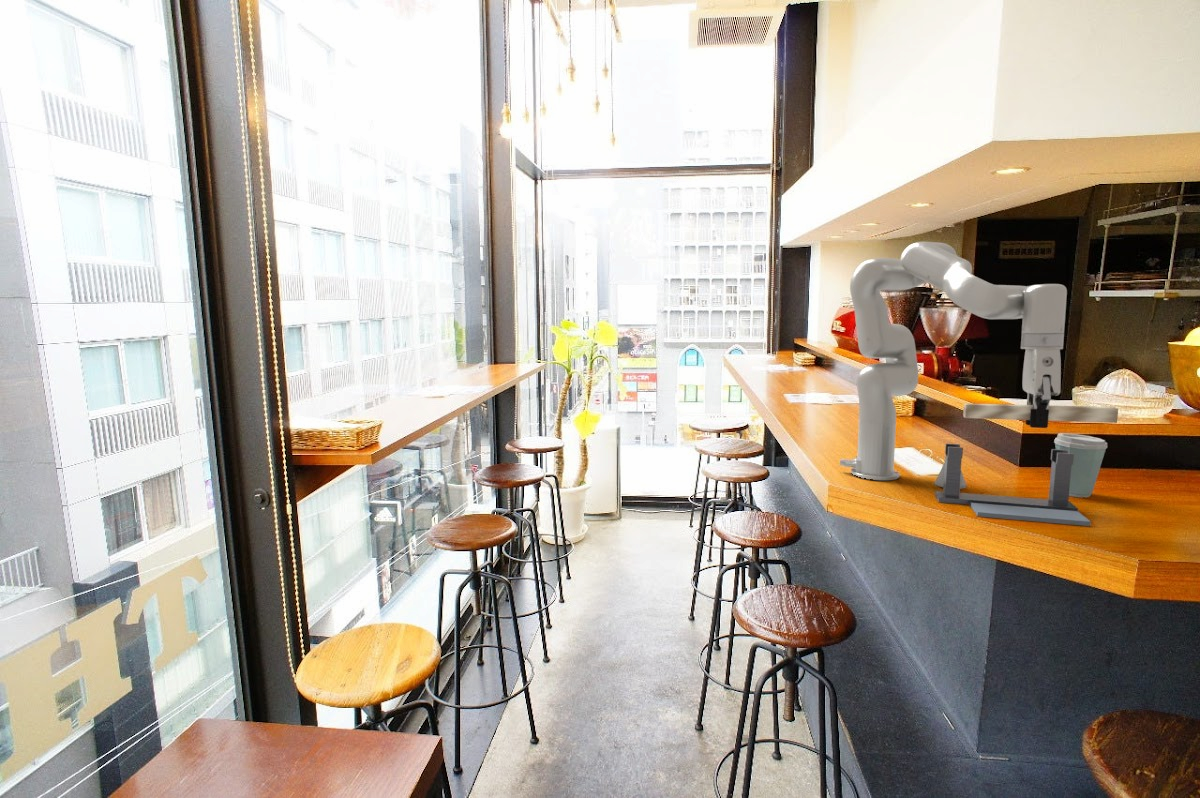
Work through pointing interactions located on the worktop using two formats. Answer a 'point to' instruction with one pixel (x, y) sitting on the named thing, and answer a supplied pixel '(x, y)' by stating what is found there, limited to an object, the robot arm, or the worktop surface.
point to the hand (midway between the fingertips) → (1036, 425)
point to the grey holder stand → (1056, 496)
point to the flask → (940, 479)
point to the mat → (1030, 514)
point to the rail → (1054, 415)
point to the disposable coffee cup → (1082, 461)
